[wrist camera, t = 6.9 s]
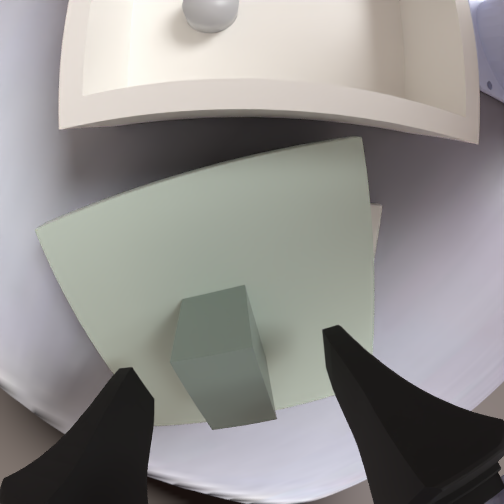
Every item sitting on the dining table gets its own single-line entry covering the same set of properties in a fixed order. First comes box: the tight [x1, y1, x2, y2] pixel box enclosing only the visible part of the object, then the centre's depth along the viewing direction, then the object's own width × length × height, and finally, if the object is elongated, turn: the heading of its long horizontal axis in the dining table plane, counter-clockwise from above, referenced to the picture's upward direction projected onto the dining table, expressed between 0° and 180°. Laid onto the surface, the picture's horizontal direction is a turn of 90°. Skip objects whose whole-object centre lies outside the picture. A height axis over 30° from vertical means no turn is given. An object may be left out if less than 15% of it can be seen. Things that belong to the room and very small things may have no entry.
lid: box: [35, 136, 374, 430], centre depth 11 cm, size 13×13×5 cm
